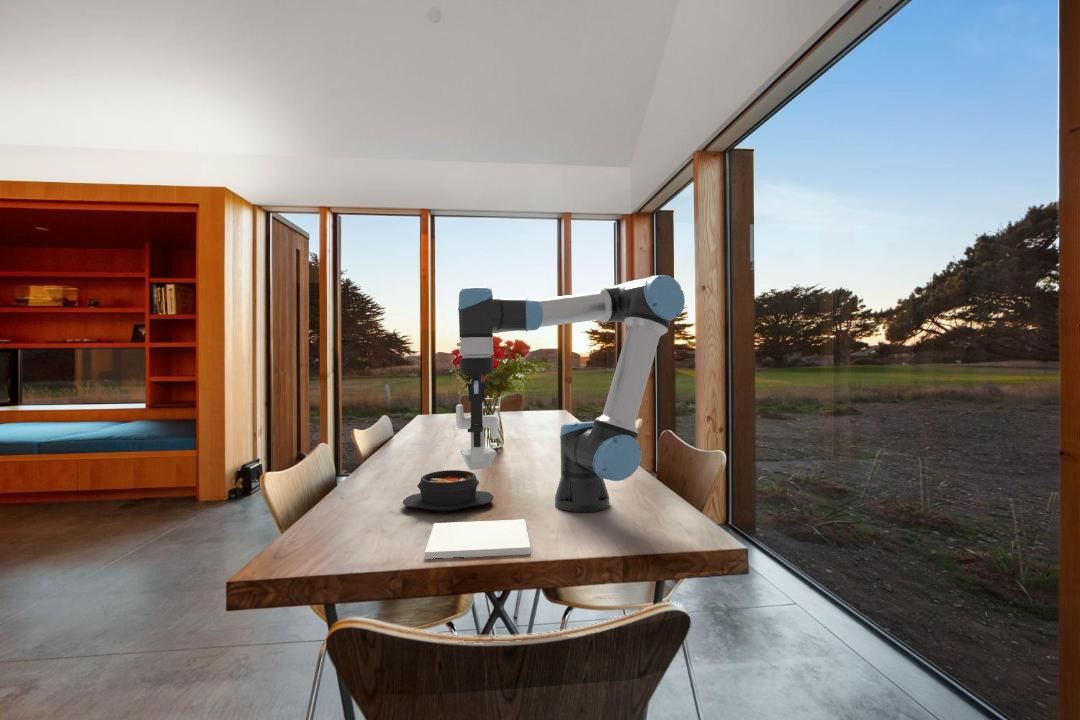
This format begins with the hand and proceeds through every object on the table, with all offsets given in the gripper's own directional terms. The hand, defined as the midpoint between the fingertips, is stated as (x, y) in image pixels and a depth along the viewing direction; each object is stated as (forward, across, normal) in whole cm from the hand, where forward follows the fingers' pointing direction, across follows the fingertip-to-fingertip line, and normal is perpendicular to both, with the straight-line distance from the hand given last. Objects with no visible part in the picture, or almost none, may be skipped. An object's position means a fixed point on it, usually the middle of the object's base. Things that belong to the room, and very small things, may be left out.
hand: (478, 457), depth 116 cm
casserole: (+19, -28, -9) cm, 35 cm away
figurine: (+2, 0, 0) cm, 2 cm away
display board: (+19, 0, 0) cm, 19 cm away
